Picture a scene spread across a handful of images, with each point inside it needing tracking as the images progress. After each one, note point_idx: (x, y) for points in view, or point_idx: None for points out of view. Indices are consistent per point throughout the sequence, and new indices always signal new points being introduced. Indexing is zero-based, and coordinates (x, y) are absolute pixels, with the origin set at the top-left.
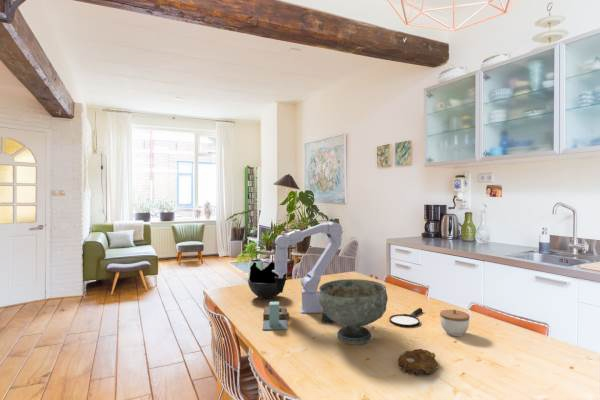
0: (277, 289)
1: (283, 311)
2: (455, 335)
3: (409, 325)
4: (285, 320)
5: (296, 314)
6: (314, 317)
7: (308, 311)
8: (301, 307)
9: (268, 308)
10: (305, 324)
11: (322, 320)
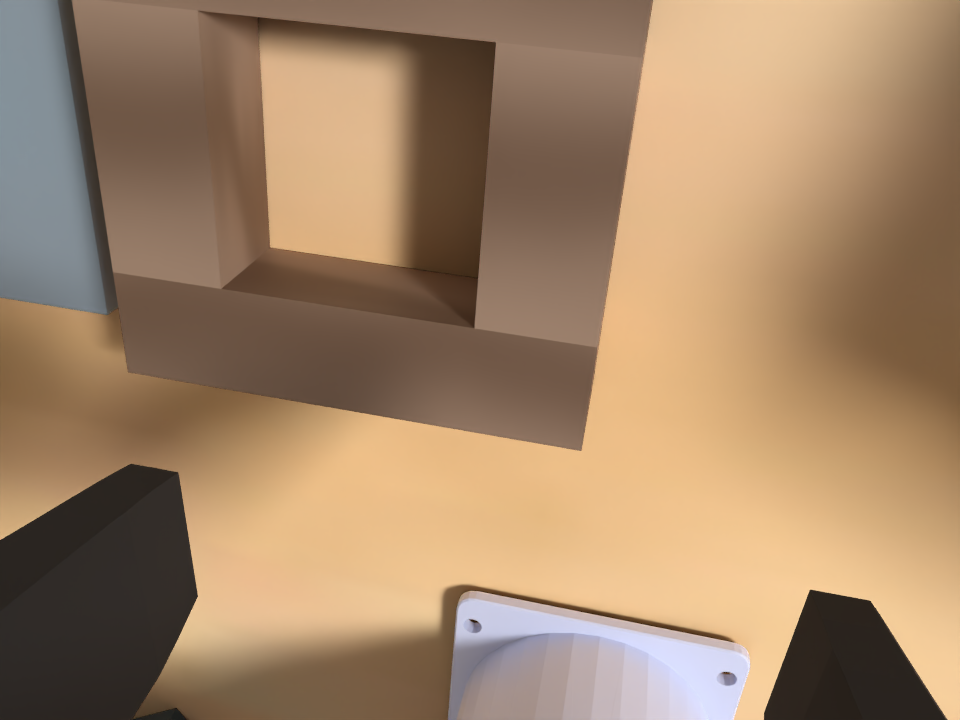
0: (28, 532)
1: (263, 331)
2: None
3: None
4: (81, 290)
5: (425, 505)
6: (282, 672)
7: (467, 683)
8: (704, 656)
9: (504, 10)
10: (23, 513)
11: (168, 711)
